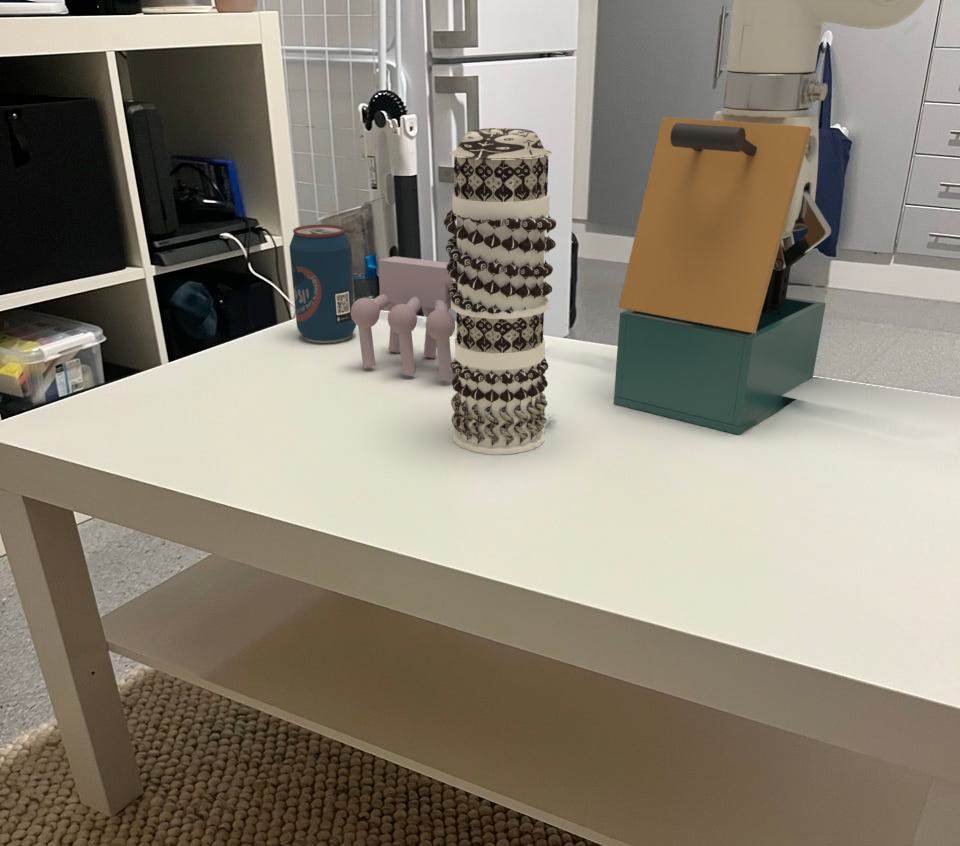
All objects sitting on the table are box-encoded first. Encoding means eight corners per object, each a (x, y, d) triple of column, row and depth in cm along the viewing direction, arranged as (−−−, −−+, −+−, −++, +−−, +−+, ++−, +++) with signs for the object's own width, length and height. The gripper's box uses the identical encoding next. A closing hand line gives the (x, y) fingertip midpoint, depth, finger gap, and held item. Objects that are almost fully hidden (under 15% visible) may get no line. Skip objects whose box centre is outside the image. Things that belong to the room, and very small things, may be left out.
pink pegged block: (556, 371, 108) (561, 237, 101) (511, 400, 101) (513, 257, 93) (398, 346, 116) (392, 220, 109) (345, 371, 109) (335, 237, 101)
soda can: (286, 336, 120) (275, 229, 113) (332, 325, 124) (324, 221, 118) (322, 348, 116) (312, 237, 109) (369, 336, 120) (362, 228, 113)
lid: (666, 119, 90) (638, 100, 86) (811, 129, 83) (788, 109, 79) (622, 308, 95) (592, 300, 91) (755, 333, 88) (730, 325, 84)
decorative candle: (460, 460, 87) (455, 139, 74) (439, 423, 95) (431, 126, 82) (561, 451, 89) (574, 136, 76) (533, 416, 97) (541, 123, 83)
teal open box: (691, 366, 110) (700, 282, 105) (810, 391, 103) (826, 302, 98) (613, 403, 100) (619, 312, 95) (739, 435, 92) (753, 338, 88)
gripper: (879, 97, 87) (839, 312, 96) (700, 88, 96) (680, 285, 106) (844, 103, 82) (806, 328, 92) (659, 93, 91) (642, 299, 101)
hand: (739, 303), depth 99 cm, fingers closed on creature, 5 cm apart
